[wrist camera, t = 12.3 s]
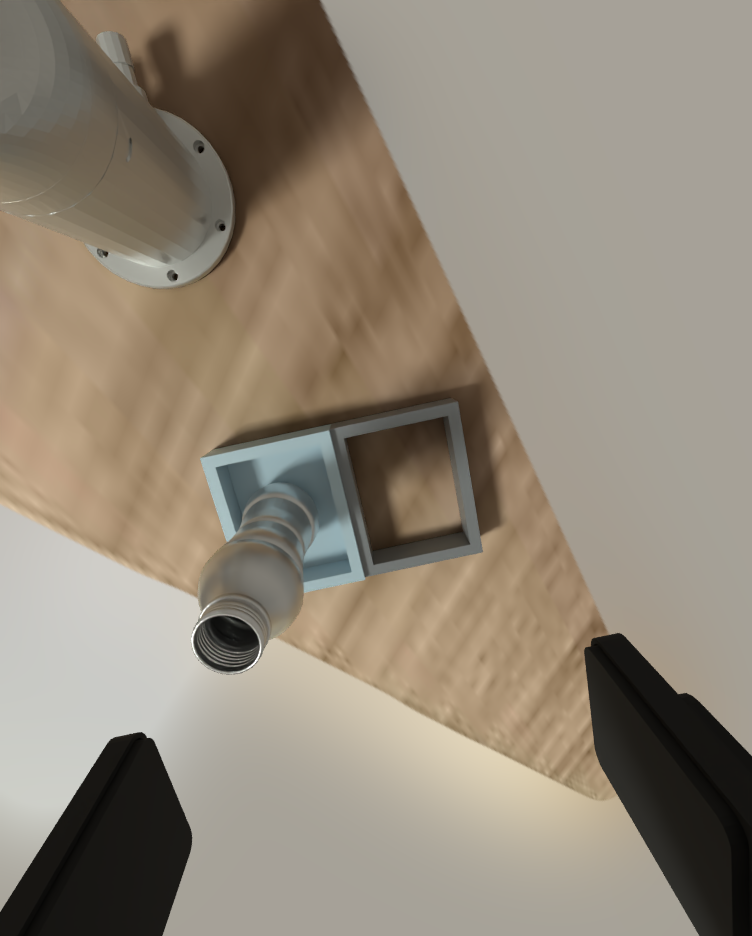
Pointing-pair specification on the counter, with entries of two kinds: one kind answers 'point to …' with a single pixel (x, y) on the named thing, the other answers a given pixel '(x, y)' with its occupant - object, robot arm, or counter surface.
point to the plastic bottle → (255, 579)
